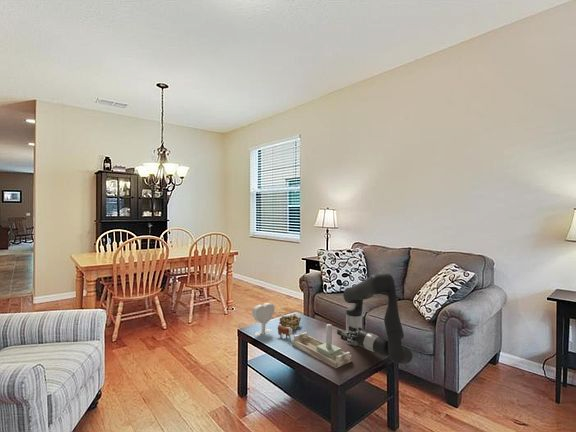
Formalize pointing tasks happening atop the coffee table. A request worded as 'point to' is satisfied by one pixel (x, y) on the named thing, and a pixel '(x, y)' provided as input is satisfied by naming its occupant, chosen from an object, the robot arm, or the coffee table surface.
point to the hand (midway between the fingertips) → (343, 329)
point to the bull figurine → (284, 331)
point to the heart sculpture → (263, 315)
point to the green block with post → (329, 345)
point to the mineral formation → (290, 321)
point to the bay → (310, 347)
